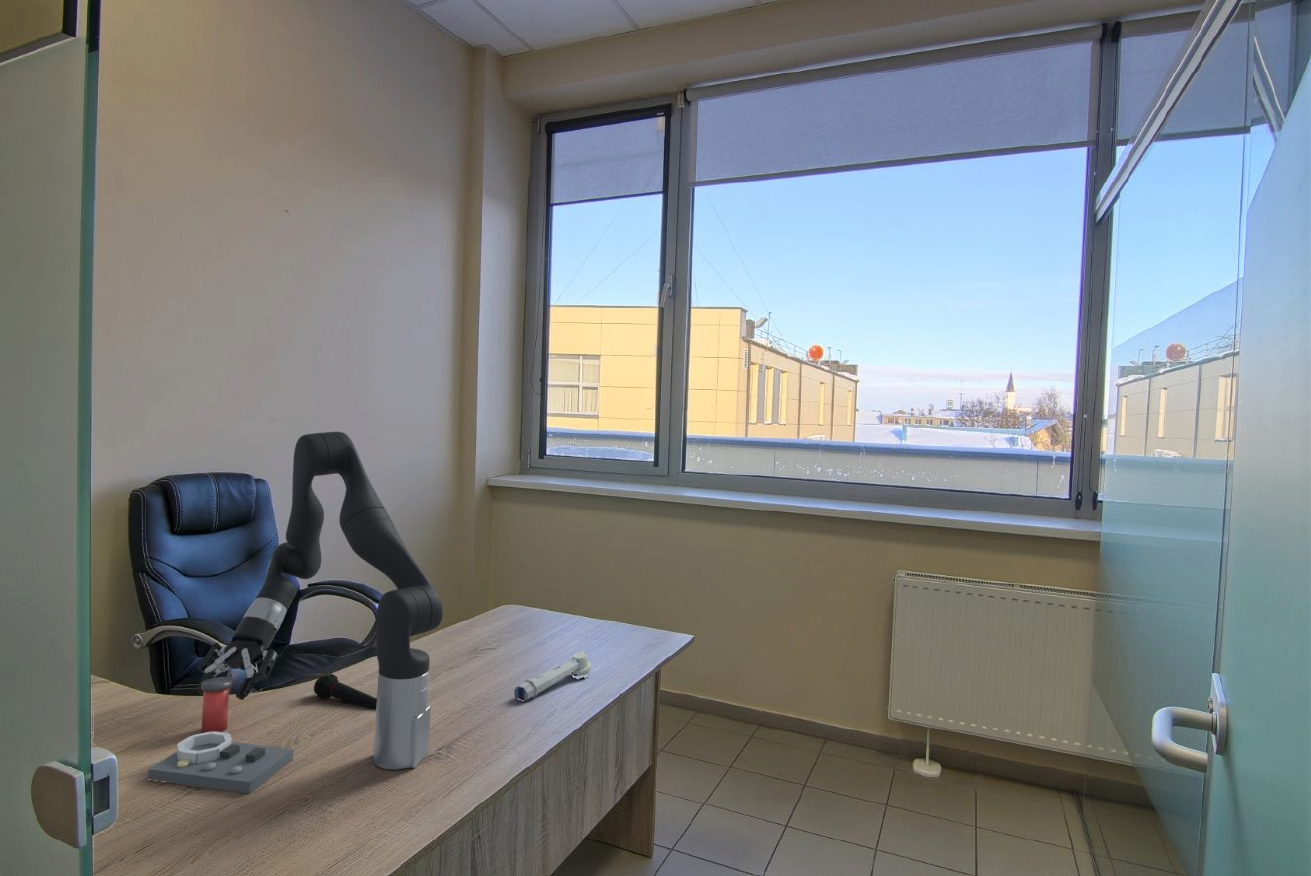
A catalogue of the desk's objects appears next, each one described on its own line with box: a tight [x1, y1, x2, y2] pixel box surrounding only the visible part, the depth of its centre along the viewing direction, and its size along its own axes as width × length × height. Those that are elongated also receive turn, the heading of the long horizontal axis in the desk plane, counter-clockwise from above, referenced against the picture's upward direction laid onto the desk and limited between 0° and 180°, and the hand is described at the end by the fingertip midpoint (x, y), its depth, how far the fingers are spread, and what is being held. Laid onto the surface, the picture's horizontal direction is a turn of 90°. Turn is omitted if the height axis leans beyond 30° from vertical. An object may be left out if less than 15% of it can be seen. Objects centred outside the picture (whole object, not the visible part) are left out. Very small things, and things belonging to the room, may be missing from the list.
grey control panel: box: [147, 731, 294, 794], centre depth 125 cm, size 19×12×4 cm, turn 84°
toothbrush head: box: [513, 651, 592, 702], centre depth 174 cm, size 5×7×25 cm
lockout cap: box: [200, 676, 233, 733], centre depth 139 cm, size 5×5×10 cm
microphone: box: [313, 673, 377, 710], centre depth 156 cm, size 6×6×20 cm
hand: (219, 695), depth 140 cm, fingers open, 8 cm apart
